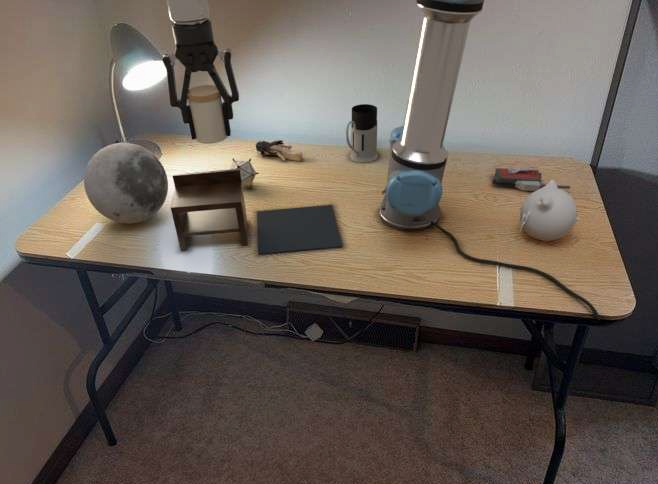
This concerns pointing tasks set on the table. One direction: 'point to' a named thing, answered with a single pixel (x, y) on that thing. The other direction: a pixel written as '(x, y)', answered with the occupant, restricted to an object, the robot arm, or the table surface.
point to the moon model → (126, 183)
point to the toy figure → (278, 150)
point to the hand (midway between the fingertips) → (211, 135)
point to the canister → (207, 114)
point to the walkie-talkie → (520, 178)
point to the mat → (297, 230)
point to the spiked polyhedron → (245, 172)
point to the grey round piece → (548, 213)
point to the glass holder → (363, 133)
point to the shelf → (209, 205)
